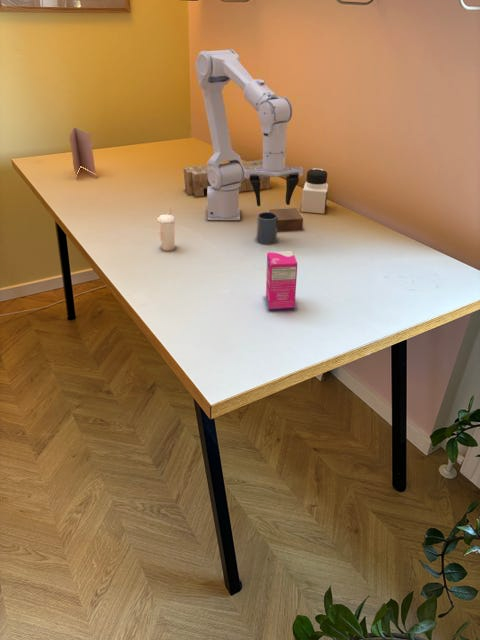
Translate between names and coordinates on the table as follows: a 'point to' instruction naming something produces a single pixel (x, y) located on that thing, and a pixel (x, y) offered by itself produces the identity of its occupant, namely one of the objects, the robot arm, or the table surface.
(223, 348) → the table surface
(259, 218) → the cup
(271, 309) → the supplement box
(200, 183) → the block tower
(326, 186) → the medicine bottle
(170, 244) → the milkshake
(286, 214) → the block
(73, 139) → the greeting card
